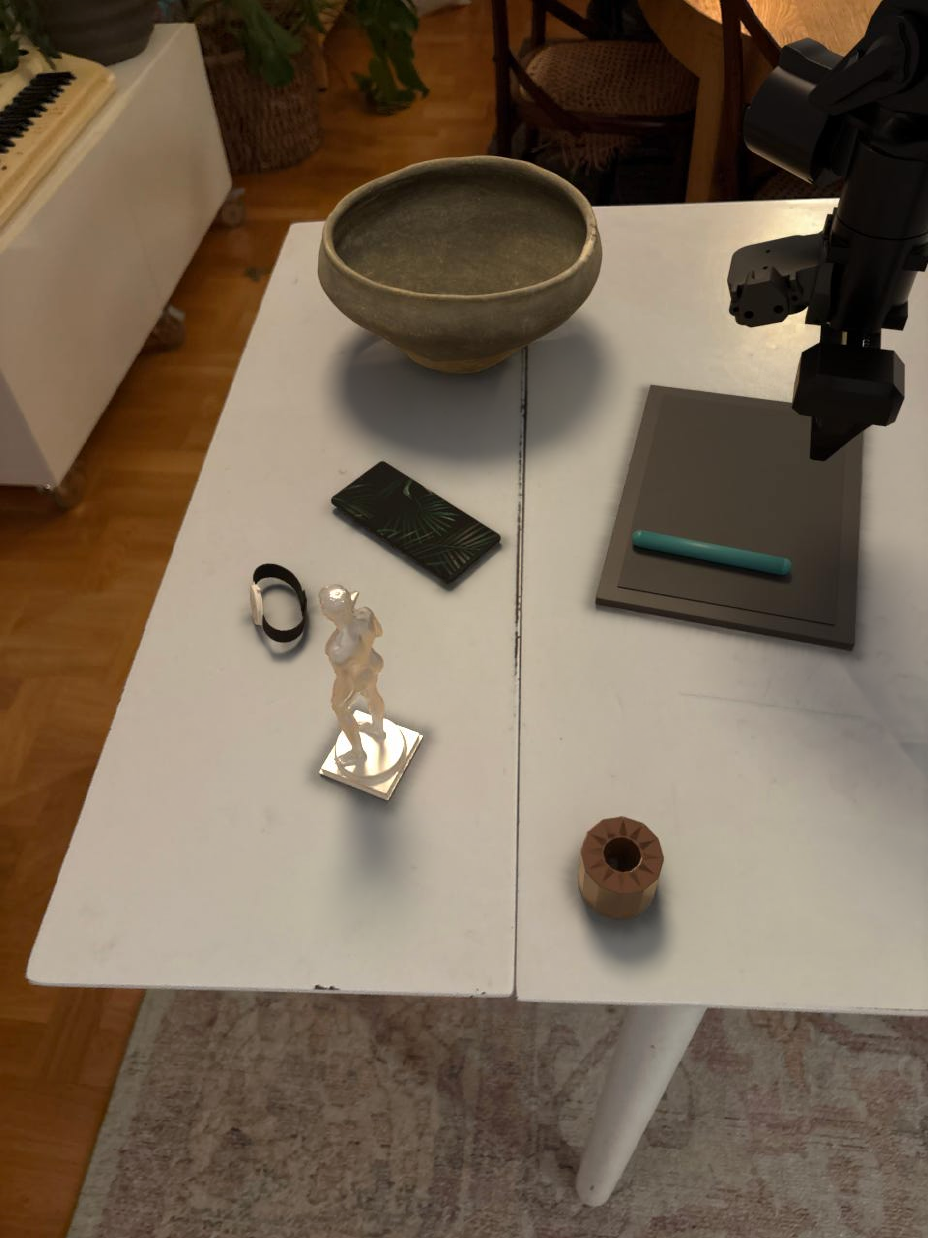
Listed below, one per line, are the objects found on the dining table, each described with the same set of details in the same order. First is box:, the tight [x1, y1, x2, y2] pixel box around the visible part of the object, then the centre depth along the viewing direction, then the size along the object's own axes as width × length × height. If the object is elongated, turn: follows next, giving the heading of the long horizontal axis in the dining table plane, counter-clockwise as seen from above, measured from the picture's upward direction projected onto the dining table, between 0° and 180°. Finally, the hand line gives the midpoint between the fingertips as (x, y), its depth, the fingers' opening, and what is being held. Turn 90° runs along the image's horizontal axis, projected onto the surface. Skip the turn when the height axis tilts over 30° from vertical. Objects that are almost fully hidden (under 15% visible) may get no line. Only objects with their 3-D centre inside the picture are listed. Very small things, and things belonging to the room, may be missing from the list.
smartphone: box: [330, 460, 502, 585], centre depth 81 cm, size 7×1×15 cm
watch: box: [249, 562, 308, 644], centre depth 74 cm, size 8×5×4 cm, turn 20°
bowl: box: [317, 155, 603, 374], centre depth 92 cm, size 28×28×14 cm
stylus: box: [632, 530, 792, 575], centre depth 75 cm, size 1×1×13 cm
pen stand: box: [577, 815, 665, 920], centre depth 58 cm, size 5×5×4 cm
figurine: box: [317, 583, 424, 802], centre depth 60 cm, size 8×7×18 cm
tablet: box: [594, 384, 864, 652], centre depth 80 cm, size 28×20×1 cm
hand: (820, 417), depth 67 cm, fingers open, 9 cm apart
